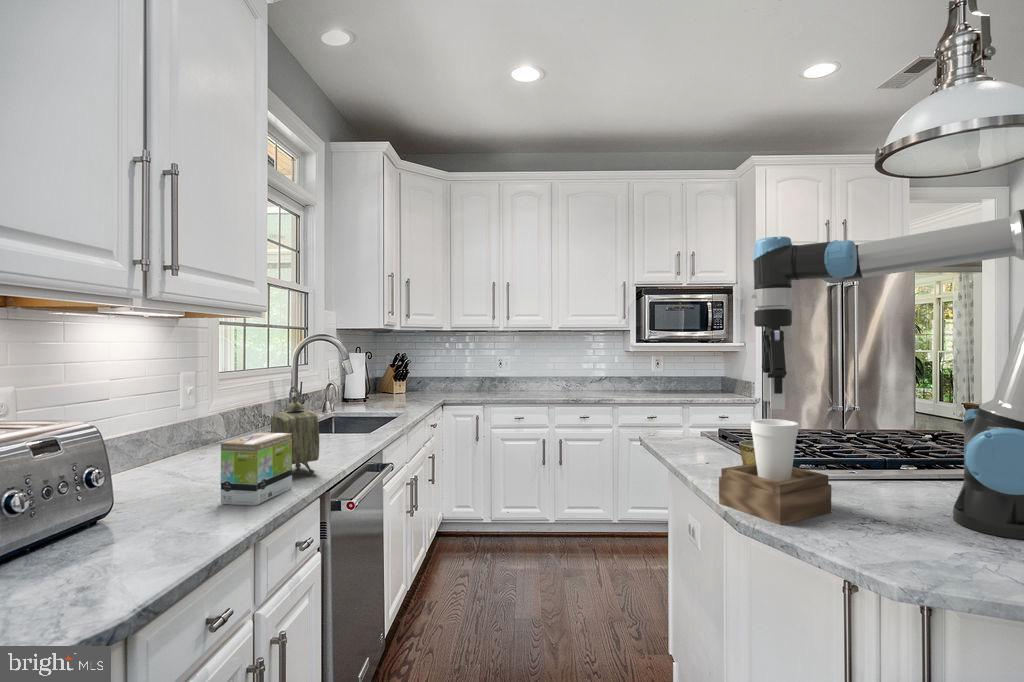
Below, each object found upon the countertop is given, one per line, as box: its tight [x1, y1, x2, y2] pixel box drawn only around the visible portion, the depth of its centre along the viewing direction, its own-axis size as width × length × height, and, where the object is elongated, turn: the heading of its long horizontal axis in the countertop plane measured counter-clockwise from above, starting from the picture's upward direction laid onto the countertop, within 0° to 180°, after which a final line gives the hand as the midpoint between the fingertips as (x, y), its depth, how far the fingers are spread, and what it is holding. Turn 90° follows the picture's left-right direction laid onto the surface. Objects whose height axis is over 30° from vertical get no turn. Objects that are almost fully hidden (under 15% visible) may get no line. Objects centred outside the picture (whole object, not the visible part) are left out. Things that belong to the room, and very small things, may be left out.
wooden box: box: [718, 463, 832, 526], centre depth 123 cm, size 16×16×8 cm
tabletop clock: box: [270, 385, 320, 476], centre depth 159 cm, size 14×9×25 cm, turn 40°
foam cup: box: [750, 418, 799, 482], centre depth 123 cm, size 10×9×13 cm
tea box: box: [220, 432, 293, 506], centre depth 138 cm, size 15×10×15 cm, turn 171°
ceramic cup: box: [738, 439, 756, 465], centre depth 145 cm, size 13×10×10 cm
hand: (773, 405), depth 123 cm, fingers open, 13 cm apart
